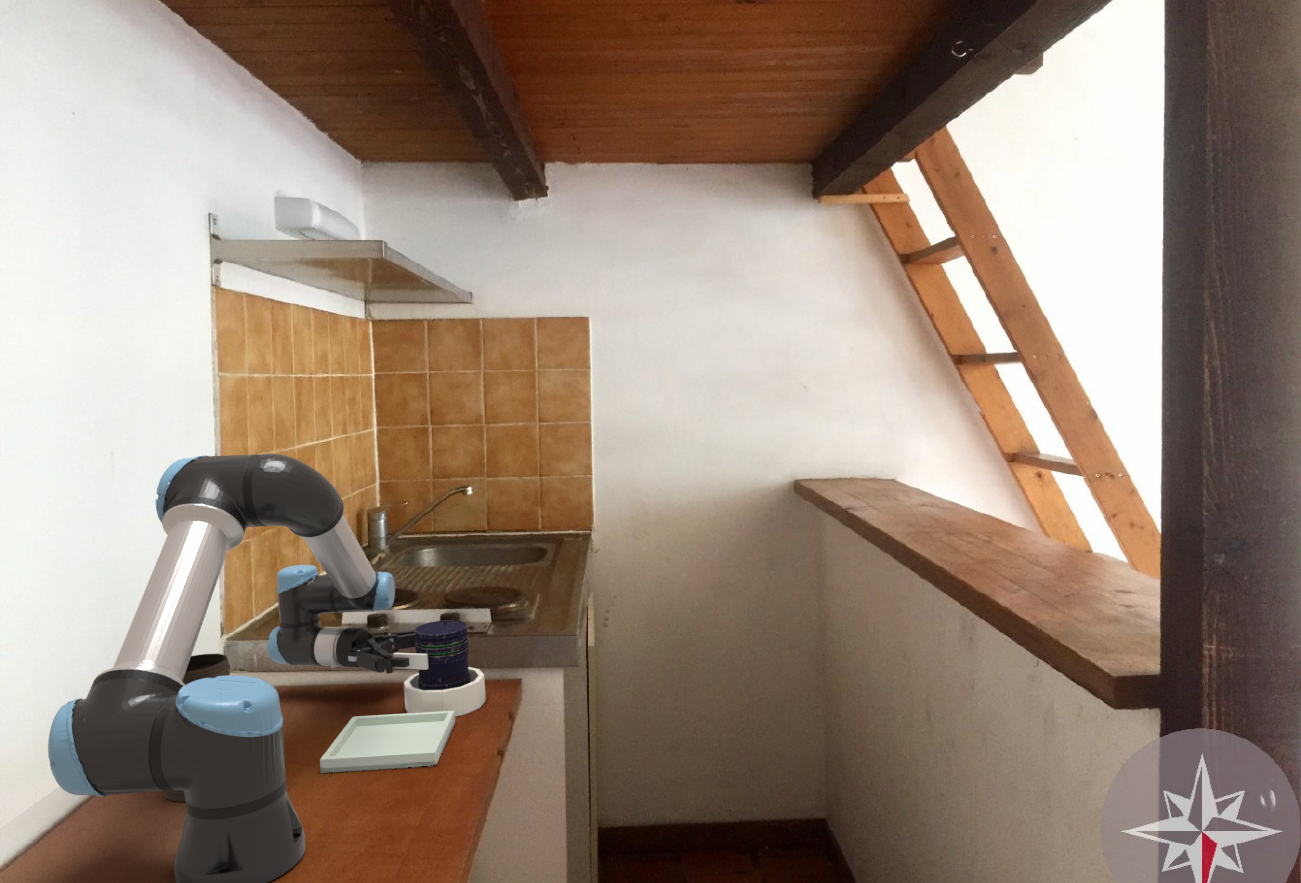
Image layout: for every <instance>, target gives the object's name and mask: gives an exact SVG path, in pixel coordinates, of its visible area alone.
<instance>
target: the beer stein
mask: <svg viewBox="0 0 1301 883" xmlns="http://www.w3.org/2000/svg"><path fill="white" fill-rule="evenodd" d="M230 671H231V666H230V663H229V659H228V657H227V656H226V655H225V654H221V653H203V654H195V655H191V658H190V661H189V664H188V667H187V670H186V673H185V675H184V678H183V681H182V682H183V683H184V684H185V685H187V684H188V683H191V682H193V681H196V680H200V679H204V678H216V677H217V676H228V675H231V674H230ZM163 795H164V797H165V798H166V800H167V799H168V800H169V801H172V802H181V803H183V802H184V803H186V801H185V792H184V791H183V790H173V791H163Z"/></svg>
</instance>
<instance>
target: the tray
mask: <svg viewBox="0 0 1301 883" xmlns="http://www.w3.org/2000/svg"><path fill="white" fill-rule="evenodd" d="M455 724H456V717H455V711H438V712H422V713H407V712H406V713H392V714H391V713H389V714H377V715H376V714H373V715H372V714H371V715H359V716H358V715H357V716H352V717H351V718H350V720H349V721H348V722H347V723H346V725H345V726H344V727H343V729H342V730H341V732H340V733H339V734H338V735H337V737H336V738H335V739H334V740H333V742H332V743H331V745H330V746H329V747H328V749H327V750H326V751H325V752H324V754H323V755H322V756H321V758H320V759H319V763H320V764H319V766H320V774H330V773H331V772H332V773H343V772H345V771H346V772H345V773H347V771H348V772H360V771H361V772H362V771H363V770H364V771H376V770H378V771H379V769H380V770H395V768H396V769H409V768H408V767H412V768H422V767H421V766H428V767H434V766H433V765H436V764H437V765H438V762H439V760H440V758H441V756H442V754H443V751H444V749H445V747H446V745H447V742H448V740H449V738H450V736H451V733H452V731H453V729H454V726H456V725H455ZM441 753H442V754H441ZM431 765H432V766H431ZM437 765H436V766H437ZM419 766H420V767H419ZM329 772H330V773H329Z"/></svg>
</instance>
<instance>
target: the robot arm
mask: <svg viewBox="0 0 1301 883" xmlns="http://www.w3.org/2000/svg"><path fill="white" fill-rule="evenodd" d="M156 495H157V498H156V499H155V508H156V514H157V517H158V520H159V521H160V523H161V525H162V529H163V531H164V532H165V534H166V535H167V536H166V538H165V541H164V544H163V545H162V549H161V551H160V553H159V556H158V557H157V560H156V562H155V566H154V568H153V570H152V573H151V574H150V578H149V580H148V581H147V582H148V583H146V584H147V585H146V587H145V589H144V591H143V594H142V597H141V599H140V602H139V604H138V607H137V609H136V611H135V613H134V617H133V619H132V621H131V623H130V626H129V629H128V631H127V633H126V636H125V639H124V641H123V643H122V644H121V647H120V650H119V652H118V655H117V657H116V660H115V662H114V664H113V667H111V668H109V669H107V670H104V671H102V672H100V673H99V674H97V676H95V678H94V680H93V682H92V685H91V686H90V689H89V691H88V693H87V695H86V697H85V698H83V697H80V698H75V699H73V700H70V701H68V702H66V703H65V704H63V705H62V706H60V708H59V709H58V711H57V712H56V714H55V716H54V718H53V720H52V722H51V725H50V730H49V734H48V742H47V749H48V750H47V752H48V760H49V767H50V770H51V773H52V774H51V775H52V776H53V778H54V780H55V781H56V783H57V784H58V786H59V787H60V788H61V789H62V790H63V791H65V792H66V793H68V794H71V795H74V796H97V797H101V798H104V797H105V798H106V797H108V796H111V795H127V794H129V795H130V794H142V793H153V792H154V793H155V792H164V791H173V790H183V791H184V792H185V801H186V802H185V812H186V813H185V814H186V817H185V820H184V823H183V824H184V825H183V827H182V831H181V835H180V839H179V844H178V847H177V851H176V855H175V858H174V864H173V865H174V877H175V883H270V882H271V881H274V880H276V879H277V878H278V877H281V876H283V875H284V874H286V873H287V872H288V871H290V870H291V869H292V868H293V867H295V866H296V865H297V864H298V863H299V862H300V861H301V859H302V858H303V856H304V854H305V852H306V842H305V841H306V839H305V830H304V827H303V825H302V823H301V820H300V818H299V817H298V814H297V812H296V810H295V807H294V806H293V803H292V802H291V801H292V800H291V799H290V797H289V795H288V792H287V791H288V789H287V781H286V780H287V778H286V763H285V762H286V760H285V746H284V745H285V744H284V729H283V725H284V716H283V713H282V710H281V703H280V702H281V701H280V695H279V693H278V691H277V689H276V688H275V687H274V686H273V685H272V684H271V683H269V682H268V681H266V680H264V679H261V678H258V677H254V676H247V675H237V674H236V675H235V674H233V675H231V674H230V675H228V676H217V677H216V678H204V679H200V680H196V681H193V682H191V683H188V684H187V685H185V684H184V683H183V682H182V681H183V678H184V675H185V673H186V670H187V667H188V664H189V661H190V658H191V656H193V652H194V650H195V649H194V648H195V646H196V643H197V640H198V638H199V634H200V632H201V628H202V626H203V623H204V621H205V618H206V614H207V612H208V608H209V605H210V602H211V601H212V598H213V594H214V591H215V588H216V585H217V582H218V579H219V576H220V574H221V572H222V571H221V570H222V568H223V566H224V565H223V564H224V562H225V560H226V557H227V554H228V551H231V550H234V549H235V548H237V547H238V546H239V545H240V544H241V543H242V541H243V539H244V536H245V532H246V530H247V529H248V528H256V527H258V528H259V527H269V526H270V527H272V526H274V527H275V526H276V527H286V528H288V529H289V531H291V533H292V534H294V535H296V536H297V537H300V538H302V539H303V541H304V542H305V543H306V545H307V546H308V548H309V549H310V551H311V552H312V554H313V556H314V557H315V558H316V560H317V562H318V563H319V564H320V566H321V567H322V569H323V571H324V572H325V573H326V574H324V575H323V574H321V575H320V574H319V571H318V568H317V566H316V565H313V564H297V565H296V564H295V565H290V566H287V567H283V568H282V569H280V570H279V571H278V572H277V580H276V581H277V585H276V586H277V587H276V588H277V590H276V594H277V604H278V614H279V616H278V618H279V625H278V626H276V627H275V628H273V630H272V631H271V632H270V634H269V636H268V642H267V643H266V647H267V649H266V650H267V651H266V652H267V655H268V656H269V658H270V660H272V661H273V662H275V663H276V664H283V665H289V666H325V667H327V666H328V667H330V668H331V669H335V668H336V667H345V668H364V669H366V670H370V671H373V672H375V673H380V674H382V673H384V672H385V673H386V674H392V673H394V670H393V669H400V670H402V669H403V670H419V669H421V670H427V669H428V654H417V653H416V652H414V653H413V652H399V651H400V650H403V649H411V648H415V643H416V640H415V638H416V635H415V629H412V630H399V631H384V632H383V633H382V634H377V635H374V636H373V635H371V633H370V632H369V630H368V629H367V628H365V627H346V626H321V619H322V618H321V615H323V614H339V613H340V614H341V613H344V614H345V613H365V612H366V613H367V612H371V613H373V612H379V611H387V610H389V609H391V608H392V607H393V604H394V601H395V596H396V595H395V594H396V585H395V584H396V583H395V580H394V579H395V578H394V577H393V575H392V573H390V572H388V571H387V572H386V571H377V572H376V571H375V570H374V568H373V567H372V565H371V564H370V561H369V560H368V558H367V555H366V554H365V551H364V550H363V548H362V547H361V545H360V543H359V541H358V539H357V538H356V536H355V534H354V531H353V530H352V528H351V526H350V525H349V522H348V521H347V518H346V517H345V516H344V514H345V513H344V512H345V504H344V501H343V499H342V497H341V495H340V493H339V491H338V489H337V488H336V487H335V486H334V485H333V484H332V482H331V481H329V479H327V478H326V477H325V476H324V475H323V474H322V473H320V472H319V471H318V470H316V469H315V468H314V467H312V466H310V465H309V464H307V463H305V462H303V461H301V460H299V459H297V458H295V457H292V456H288V455H286V454H279V453H262V454H261V453H260V454H259V453H258V454H237V455H235V454H234V455H233V454H232V455H210V456H209V455H198V456H195V457H186V458H182V459H178V460H176V461H174V462H173V463H172V464H170V465H169V466H168V467H167V468H166V469H165V471H164V472H163V473H162V476H161V478H160V480H159V483H158V485H157V488H156Z"/></svg>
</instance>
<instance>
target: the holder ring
mask: <svg viewBox="0 0 1301 883" xmlns="http://www.w3.org/2000/svg"><path fill="white" fill-rule="evenodd" d="M468 670H469V673H470V681H471V683H468V684H466V685H463V686H461V687H456V688H451V689H445V690H421V689H418V679H419V672H418V673H415V674H412V675H410V676H409V677H408V678H407V679H406V680H405V681H403V691H404V692H403V694H404V704H405V705H404V706H405V707H404V708H405V710H406V713H422V712H438V711H455V718H456V717H458V716H460V717H461V716H465V715H467V714H470V713H472V712H474V711H476V710H478V709H481V707H482V705H483V704H484V703H485V702H486V700H487V699H486V686H485V685H486V684H485V683H486V682H485V674H484V673H483V672H482V670H481V669H480V668H476V667H471V666H468Z"/></svg>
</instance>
